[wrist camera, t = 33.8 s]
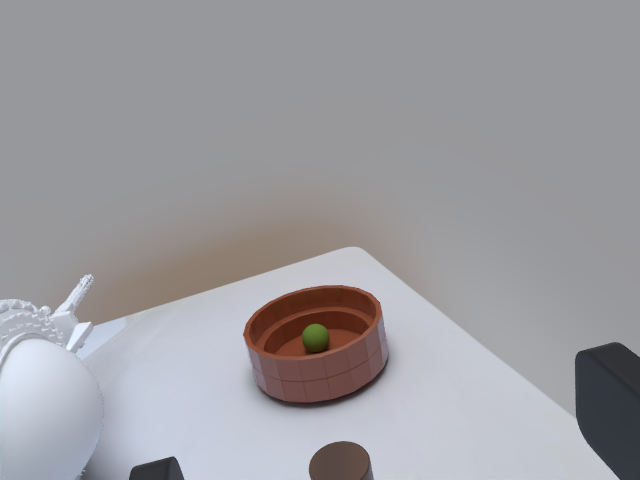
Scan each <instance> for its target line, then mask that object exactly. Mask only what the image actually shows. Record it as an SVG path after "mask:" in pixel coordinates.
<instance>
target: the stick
mask: <svg viewBox="0 0 640 480" xmlns="http://www.w3.org/2000/svg"><path fill="white" fill-rule="evenodd" d="M309 474H310V478H311V480H374V477H373V472H372V467H371V462H370V457H369V455H368V453H367V451H366V450H365V449H364V448H363V447H361V446H360V445H358V444H356V443H353V442H347V441H341V442H335V443H331V444H328V445H326V446H324V447H323V448H321V449H320V450H318V451H317V452H316V453H315V455H314V456H313V457H312V459H311V461H310V465H309Z"/></svg>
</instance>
